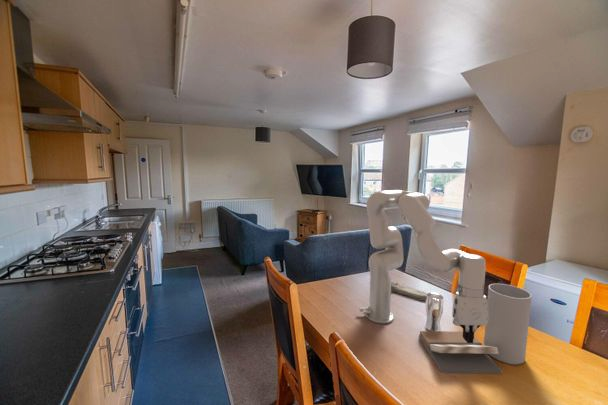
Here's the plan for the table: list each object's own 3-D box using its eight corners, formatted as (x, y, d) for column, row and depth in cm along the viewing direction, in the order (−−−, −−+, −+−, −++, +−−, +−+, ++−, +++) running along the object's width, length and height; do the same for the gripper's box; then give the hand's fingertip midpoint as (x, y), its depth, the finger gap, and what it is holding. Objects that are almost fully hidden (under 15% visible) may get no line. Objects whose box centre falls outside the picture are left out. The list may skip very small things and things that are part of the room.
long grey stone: (427, 307, 138) (433, 301, 145) (428, 297, 137) (434, 292, 144) (367, 284, 161) (375, 280, 168) (368, 276, 161) (376, 272, 168)
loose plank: (440, 352, 92) (439, 346, 92) (430, 350, 99) (429, 344, 100) (498, 353, 91) (497, 347, 92) (484, 351, 99) (483, 344, 100)
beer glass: (440, 325, 118) (442, 293, 117) (443, 334, 112) (445, 300, 110) (423, 322, 121) (425, 291, 119) (425, 331, 114) (427, 298, 112)
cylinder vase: (527, 370, 92) (535, 302, 89) (484, 357, 98) (489, 293, 95) (521, 350, 102) (528, 288, 99) (482, 339, 109) (487, 281, 106)
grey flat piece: (442, 372, 91) (442, 362, 90) (418, 338, 109) (419, 329, 109) (501, 373, 90) (502, 363, 90) (467, 338, 109) (468, 330, 109)
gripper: (454, 295, 88) (452, 347, 89) (500, 295, 87) (497, 347, 89) (443, 286, 95) (441, 334, 97) (485, 286, 95) (482, 334, 97)
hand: (468, 340), depth 93 cm, fingers closed
